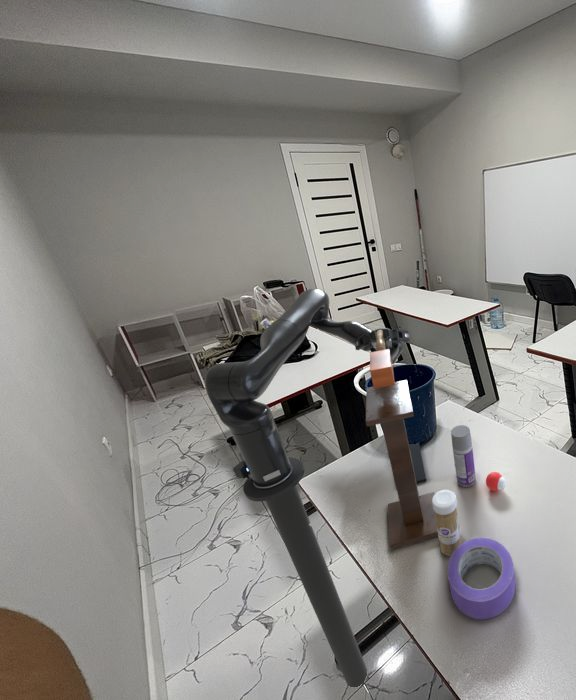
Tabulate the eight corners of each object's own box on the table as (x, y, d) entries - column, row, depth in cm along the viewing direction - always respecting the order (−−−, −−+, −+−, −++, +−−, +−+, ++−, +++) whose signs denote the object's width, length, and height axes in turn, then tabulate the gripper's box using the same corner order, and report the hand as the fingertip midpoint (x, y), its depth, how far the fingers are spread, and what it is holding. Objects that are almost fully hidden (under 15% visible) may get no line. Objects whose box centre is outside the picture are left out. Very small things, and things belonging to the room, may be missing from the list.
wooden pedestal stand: (443, 537, 74) (421, 409, 61) (390, 552, 72) (356, 423, 59) (434, 494, 85) (414, 378, 72) (388, 506, 83) (358, 389, 70)
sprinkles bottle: (440, 558, 70) (431, 509, 65) (440, 537, 74) (432, 489, 69) (463, 555, 70) (456, 506, 65) (462, 535, 75) (455, 487, 69)
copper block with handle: (394, 384, 62) (391, 366, 61) (374, 389, 61) (369, 370, 60) (389, 338, 83) (386, 323, 81) (373, 340, 82) (370, 326, 81)
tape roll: (438, 580, 66) (434, 563, 64) (485, 543, 72) (484, 525, 70) (478, 636, 57) (475, 618, 55) (528, 588, 64) (528, 569, 62)
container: (472, 471, 91) (467, 423, 85) (478, 484, 87) (473, 434, 81) (455, 475, 90) (448, 427, 84) (459, 489, 86) (453, 439, 80)
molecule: (483, 491, 85) (482, 477, 83) (492, 477, 88) (491, 464, 87) (502, 498, 82) (501, 484, 81) (510, 484, 86) (510, 470, 84)
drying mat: (394, 447, 103) (394, 445, 102) (418, 441, 104) (418, 440, 104) (398, 487, 88) (398, 485, 88) (426, 480, 90) (425, 478, 89)
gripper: (413, 354, 94) (414, 345, 77) (360, 363, 92) (349, 356, 75) (408, 326, 95) (407, 312, 78) (355, 335, 92) (343, 322, 75)
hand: (379, 334), depth 76 cm, fingers closed on copper block with handle, 2 cm apart
